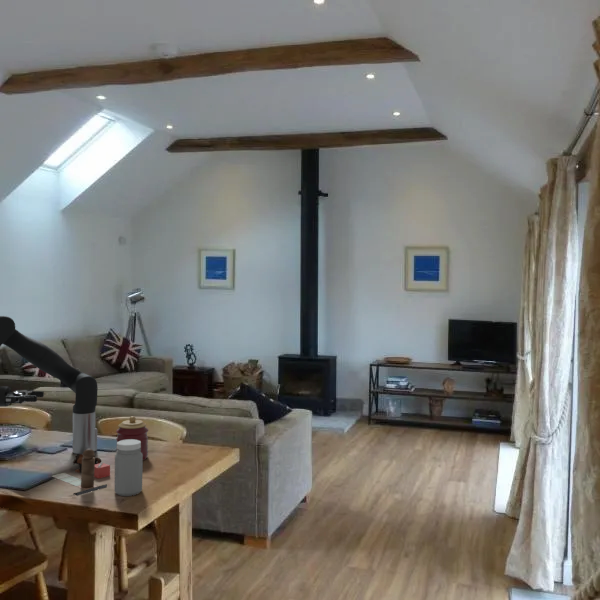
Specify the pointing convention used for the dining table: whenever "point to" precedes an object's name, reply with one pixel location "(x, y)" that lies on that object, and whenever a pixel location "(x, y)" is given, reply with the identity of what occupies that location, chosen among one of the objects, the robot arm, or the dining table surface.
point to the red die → (101, 470)
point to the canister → (134, 433)
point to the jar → (128, 467)
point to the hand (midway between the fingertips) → (40, 396)
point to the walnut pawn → (88, 469)
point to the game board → (77, 483)
